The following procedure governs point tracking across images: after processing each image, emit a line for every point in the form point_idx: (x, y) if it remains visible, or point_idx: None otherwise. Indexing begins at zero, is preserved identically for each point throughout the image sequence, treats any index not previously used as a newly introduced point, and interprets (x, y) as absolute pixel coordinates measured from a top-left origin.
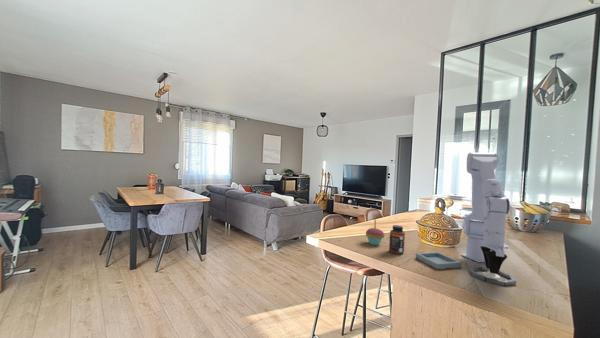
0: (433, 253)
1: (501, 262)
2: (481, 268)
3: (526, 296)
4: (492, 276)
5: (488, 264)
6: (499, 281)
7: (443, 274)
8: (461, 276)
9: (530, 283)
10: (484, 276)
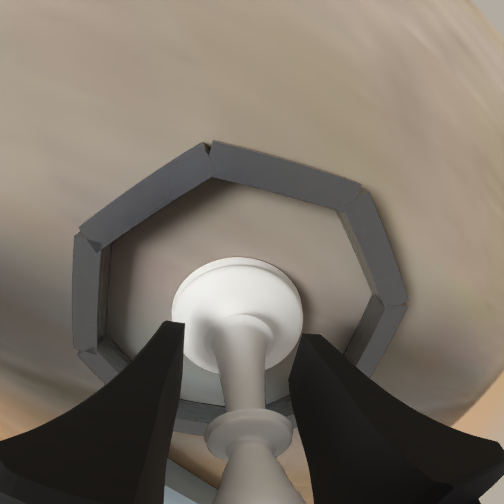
0: None
1: (416, 422)
2: (105, 348)
3: (494, 222)
4: (288, 340)
5: (177, 390)
6: (392, 331)
7: None
8: (294, 456)
9: (269, 18)
10: None
